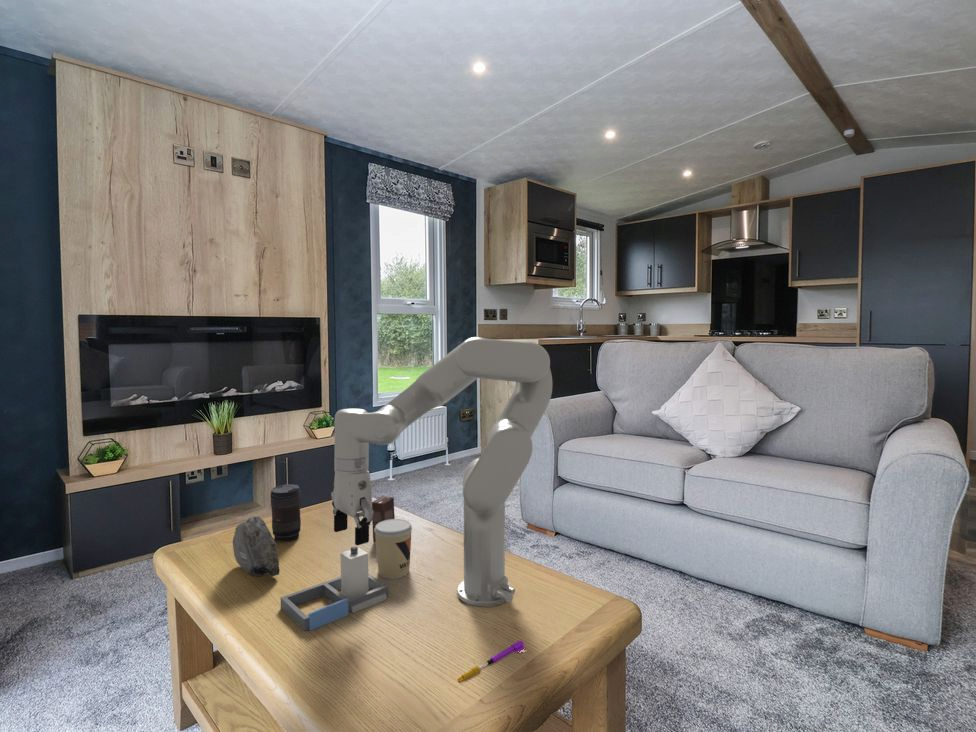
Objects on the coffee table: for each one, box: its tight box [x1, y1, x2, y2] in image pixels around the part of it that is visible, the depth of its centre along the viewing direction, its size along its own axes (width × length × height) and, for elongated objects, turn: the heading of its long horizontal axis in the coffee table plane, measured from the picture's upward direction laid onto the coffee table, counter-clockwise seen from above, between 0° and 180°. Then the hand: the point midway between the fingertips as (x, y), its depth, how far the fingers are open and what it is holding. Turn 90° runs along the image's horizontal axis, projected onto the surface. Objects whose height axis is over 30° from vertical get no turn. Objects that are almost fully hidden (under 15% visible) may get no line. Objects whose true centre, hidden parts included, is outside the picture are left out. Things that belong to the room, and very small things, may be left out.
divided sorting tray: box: [280, 572, 390, 632], centre depth 117 cm, size 13×20×4 cm, turn 133°
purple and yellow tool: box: [457, 640, 526, 683], centre depth 96 cm, size 3×1×16 cm
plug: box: [340, 546, 370, 599], centre depth 120 cm, size 4×4×11 cm
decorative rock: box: [232, 515, 280, 577], centre depth 131 cm, size 16×7×15 cm, turn 44°
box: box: [371, 495, 396, 544], centre depth 152 cm, size 6×4×12 cm
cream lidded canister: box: [374, 518, 413, 579], centre depth 132 cm, size 9×9×12 cm
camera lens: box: [270, 483, 302, 543], centre depth 154 cm, size 8×8×15 cm
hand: (351, 536), depth 120 cm, fingers open, 9 cm apart
